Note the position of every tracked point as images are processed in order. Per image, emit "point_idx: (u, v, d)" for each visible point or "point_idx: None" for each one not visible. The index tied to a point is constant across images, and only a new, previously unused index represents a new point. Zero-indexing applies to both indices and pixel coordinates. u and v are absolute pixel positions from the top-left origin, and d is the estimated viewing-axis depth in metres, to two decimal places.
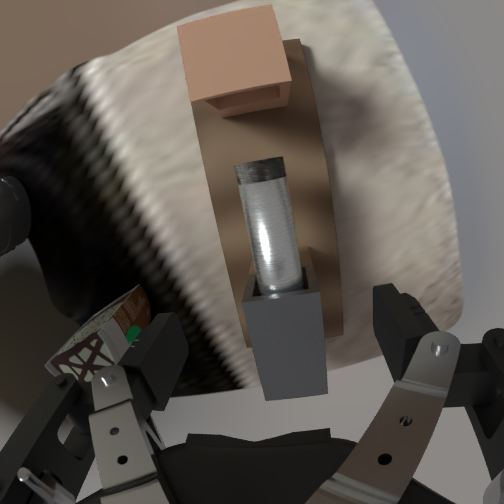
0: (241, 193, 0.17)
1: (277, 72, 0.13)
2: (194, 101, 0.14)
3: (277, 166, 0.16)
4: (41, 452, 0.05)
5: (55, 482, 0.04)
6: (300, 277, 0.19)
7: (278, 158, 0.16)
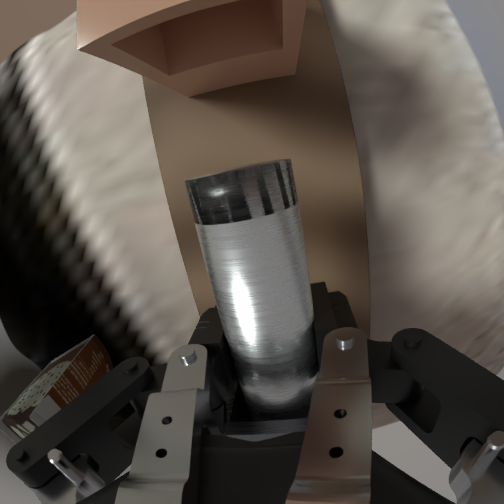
0: (200, 242, 0.08)
1: None
2: (90, 49, 0.05)
3: (278, 182, 0.07)
4: (83, 437, 0.06)
5: (87, 470, 0.05)
6: None
7: (280, 163, 0.07)
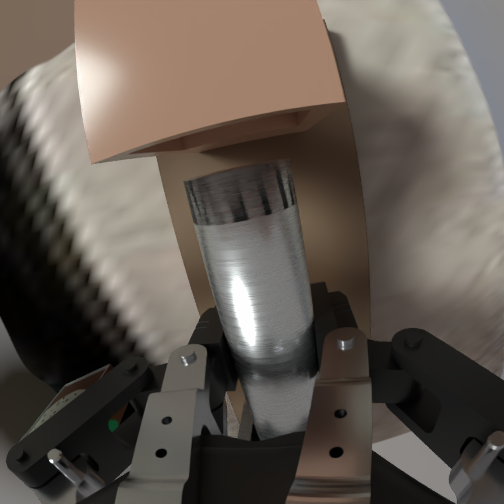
0: (199, 242, 0.08)
1: (306, 76, 0.05)
2: (104, 161, 0.06)
3: (277, 183, 0.07)
4: (83, 437, 0.06)
5: (87, 470, 0.05)
6: None
7: (279, 164, 0.07)
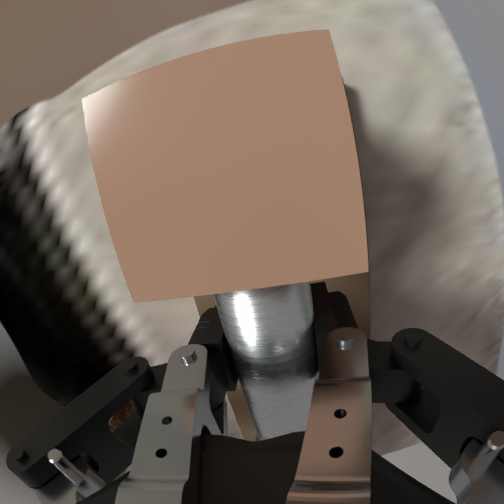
0: None
1: (337, 250, 0.06)
2: (144, 296, 0.07)
3: None
4: (83, 437, 0.06)
5: (87, 470, 0.05)
6: None
7: None
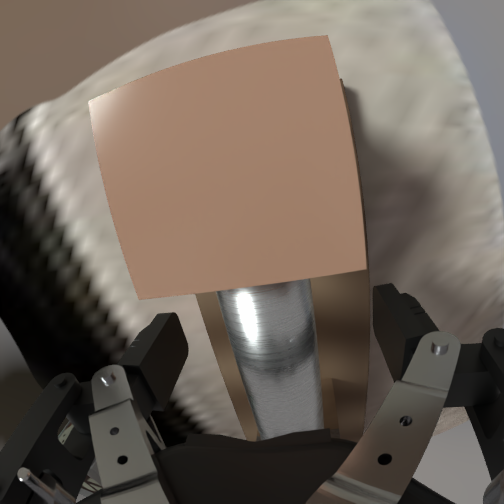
0: None
1: (336, 248, 0.06)
2: (149, 293, 0.07)
3: None
4: (41, 452, 0.05)
5: (55, 482, 0.04)
6: (317, 382, 0.10)
7: None
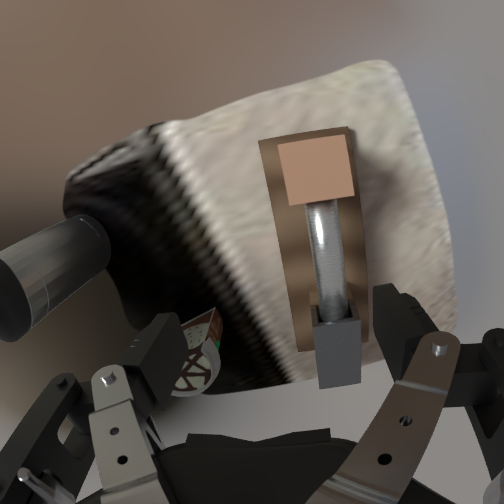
0: None
1: (346, 189, 0.22)
2: (291, 204, 0.24)
3: None
4: (41, 452, 0.05)
5: (55, 482, 0.04)
6: (342, 250, 0.26)
7: None
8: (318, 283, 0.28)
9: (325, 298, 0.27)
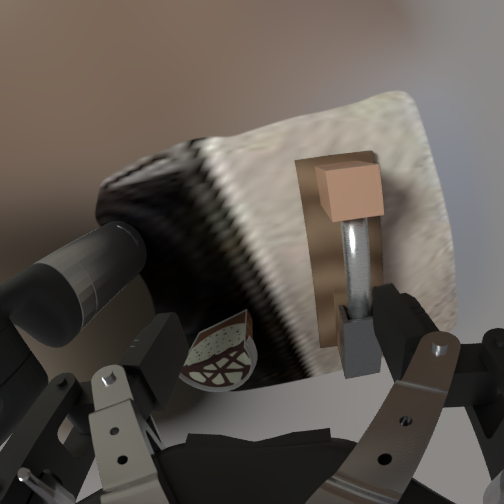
0: None
1: (378, 209, 0.27)
2: (333, 221, 0.28)
3: None
4: (41, 452, 0.05)
5: (55, 482, 0.04)
6: (369, 258, 0.31)
7: None
8: (349, 286, 0.32)
9: (355, 299, 0.32)
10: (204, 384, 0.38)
